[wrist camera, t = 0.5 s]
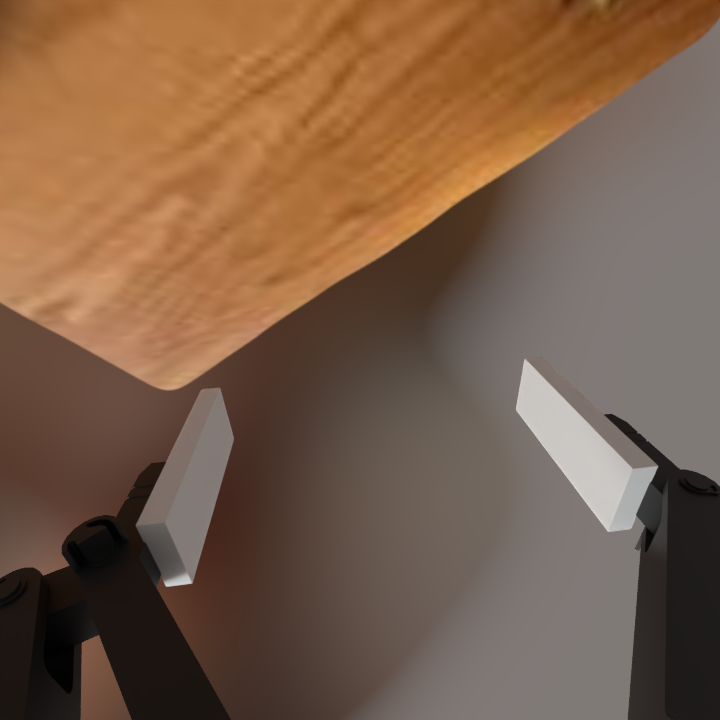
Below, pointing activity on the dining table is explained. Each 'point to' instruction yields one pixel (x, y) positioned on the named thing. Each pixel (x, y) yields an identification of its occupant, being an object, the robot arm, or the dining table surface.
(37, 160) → the dining table surface
